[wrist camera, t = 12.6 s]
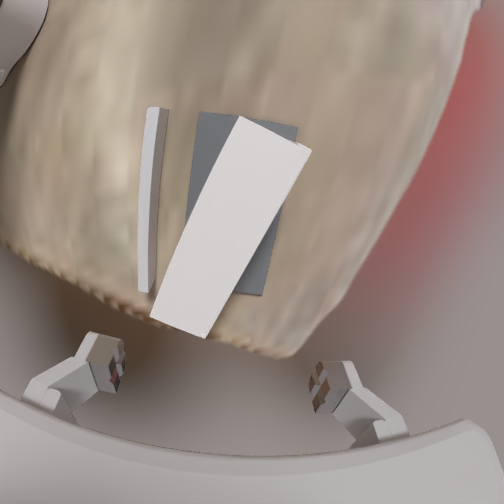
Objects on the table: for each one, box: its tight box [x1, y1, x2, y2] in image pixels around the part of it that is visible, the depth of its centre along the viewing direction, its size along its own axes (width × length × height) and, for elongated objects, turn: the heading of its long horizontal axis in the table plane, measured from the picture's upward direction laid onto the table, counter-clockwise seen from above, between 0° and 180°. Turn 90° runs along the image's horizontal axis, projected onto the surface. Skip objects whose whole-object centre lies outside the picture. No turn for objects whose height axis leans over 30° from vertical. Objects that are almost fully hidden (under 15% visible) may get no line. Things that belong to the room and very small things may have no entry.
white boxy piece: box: [150, 116, 312, 339], centre depth 26 cm, size 20×6×9 cm, turn 153°
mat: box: [185, 112, 298, 295], centre depth 30 cm, size 10×20×1 cm, turn 170°
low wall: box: [138, 107, 169, 293], centre depth 28 cm, size 1×20×4 cm, turn 170°
